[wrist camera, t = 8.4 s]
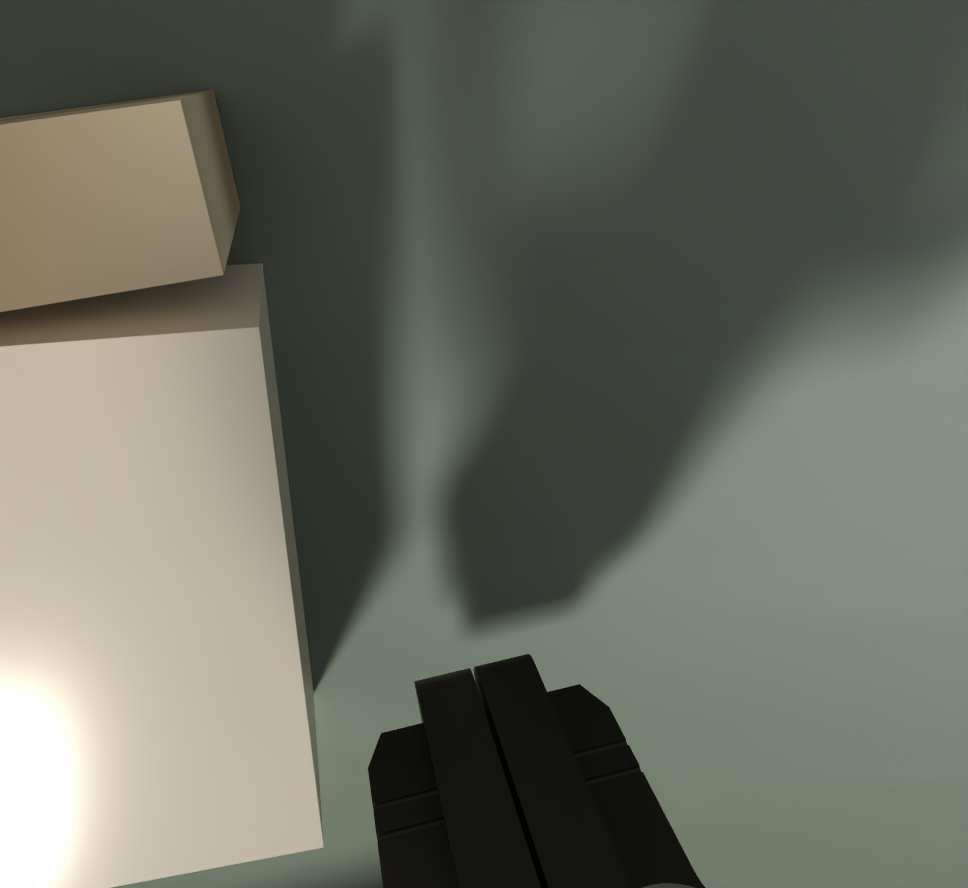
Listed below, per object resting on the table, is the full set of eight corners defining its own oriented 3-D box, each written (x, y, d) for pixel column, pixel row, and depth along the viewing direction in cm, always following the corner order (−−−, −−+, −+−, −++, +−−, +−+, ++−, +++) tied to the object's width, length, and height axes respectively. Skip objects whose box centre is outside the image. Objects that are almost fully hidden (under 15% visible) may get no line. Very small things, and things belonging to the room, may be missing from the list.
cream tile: (263, 257, 10) (258, 327, 7) (312, 679, 13) (323, 847, 10) (-338, 294, 9) (-598, 391, 6) (-157, 751, 11) (-292, 963, 9)
